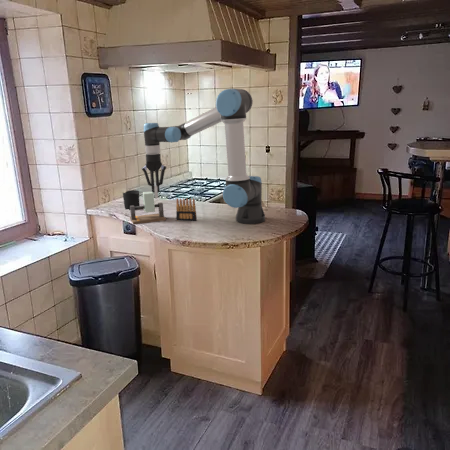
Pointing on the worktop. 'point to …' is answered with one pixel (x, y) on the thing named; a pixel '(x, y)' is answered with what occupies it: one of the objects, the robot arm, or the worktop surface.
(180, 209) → the ammunition clip
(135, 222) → the cord rack
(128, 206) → the pen holder
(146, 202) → the sleeve
